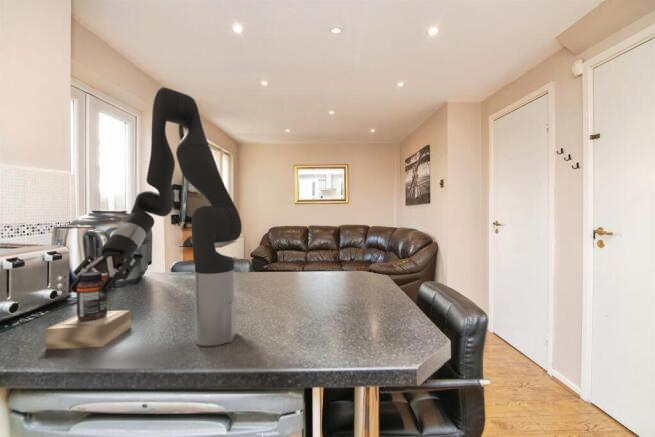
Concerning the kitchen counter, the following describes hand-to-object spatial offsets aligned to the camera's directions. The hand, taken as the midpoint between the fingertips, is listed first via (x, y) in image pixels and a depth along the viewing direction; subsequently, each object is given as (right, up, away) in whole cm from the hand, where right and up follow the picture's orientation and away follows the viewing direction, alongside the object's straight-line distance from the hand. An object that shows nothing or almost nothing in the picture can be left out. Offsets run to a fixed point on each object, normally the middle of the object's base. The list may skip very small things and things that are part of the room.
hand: (87, 291), depth 73 cm
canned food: (-16, -12, +21) cm, 29 cm away
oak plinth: (0, -12, +1) cm, 12 cm away
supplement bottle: (0, -7, +1) cm, 7 cm away
